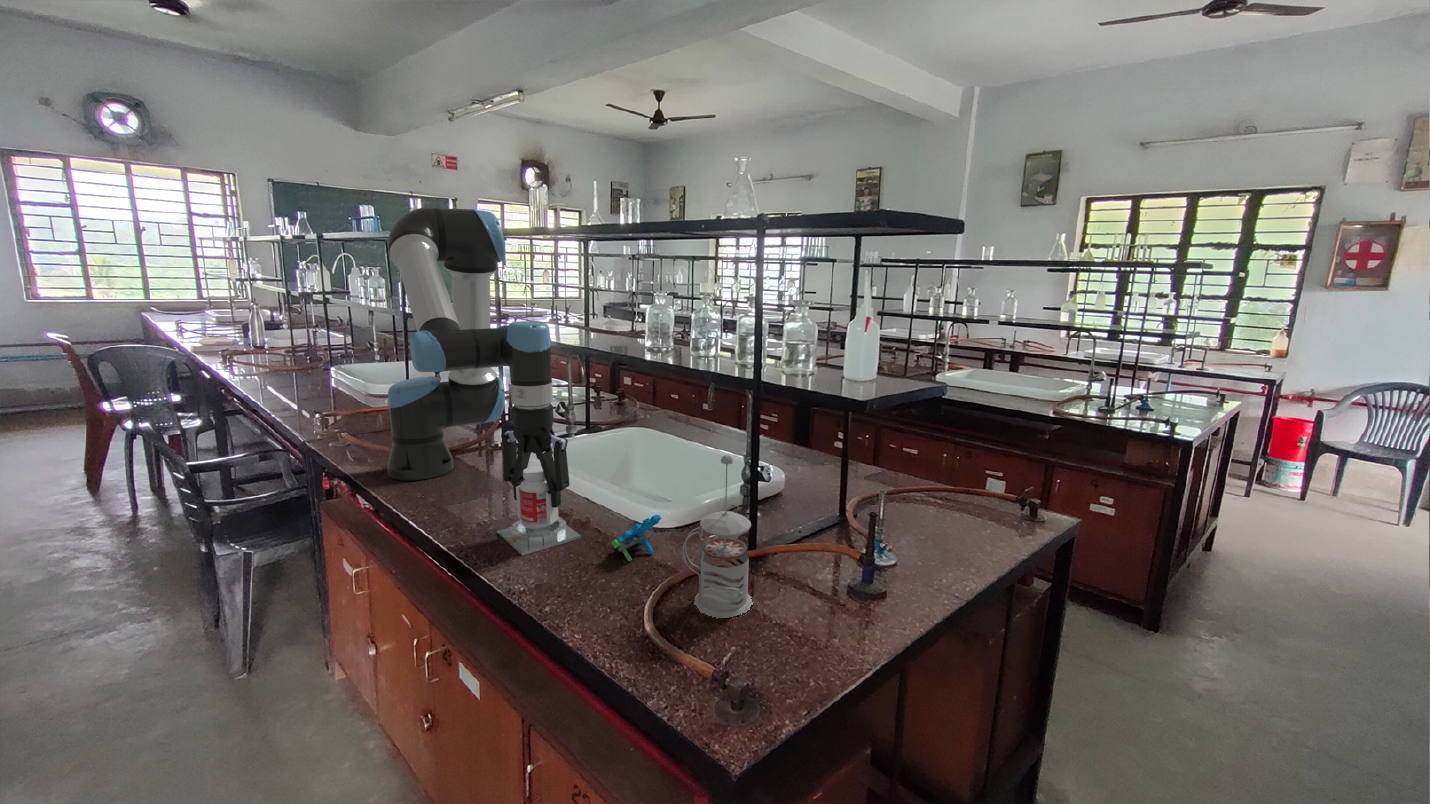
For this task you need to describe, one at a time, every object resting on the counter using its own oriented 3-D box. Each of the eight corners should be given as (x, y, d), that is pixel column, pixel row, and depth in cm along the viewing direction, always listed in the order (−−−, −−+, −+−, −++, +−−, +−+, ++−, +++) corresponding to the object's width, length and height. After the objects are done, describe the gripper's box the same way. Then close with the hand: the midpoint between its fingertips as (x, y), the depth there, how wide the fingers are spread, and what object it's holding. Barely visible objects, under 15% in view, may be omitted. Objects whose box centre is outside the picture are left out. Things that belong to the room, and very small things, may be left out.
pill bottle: (539, 532, 119) (536, 477, 116) (514, 525, 122) (511, 472, 119) (560, 520, 124) (558, 467, 122) (537, 514, 127) (534, 462, 124)
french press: (750, 622, 96) (755, 468, 90) (676, 614, 98) (677, 462, 92) (756, 589, 105) (762, 447, 100) (689, 582, 107) (690, 443, 101)
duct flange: (497, 533, 124) (497, 523, 124) (554, 518, 132) (553, 508, 131) (521, 555, 115) (521, 545, 115) (580, 538, 123) (580, 528, 122)
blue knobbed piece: (646, 526, 125) (665, 505, 118) (661, 551, 124) (682, 531, 116) (600, 550, 118) (617, 529, 111) (616, 577, 116) (635, 558, 109)
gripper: (477, 403, 117) (485, 518, 123) (564, 414, 111) (568, 534, 116) (503, 395, 124) (510, 504, 130) (587, 405, 118) (590, 519, 123)
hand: (538, 518), depth 123 cm, fingers closed on pill bottle, 6 cm apart
